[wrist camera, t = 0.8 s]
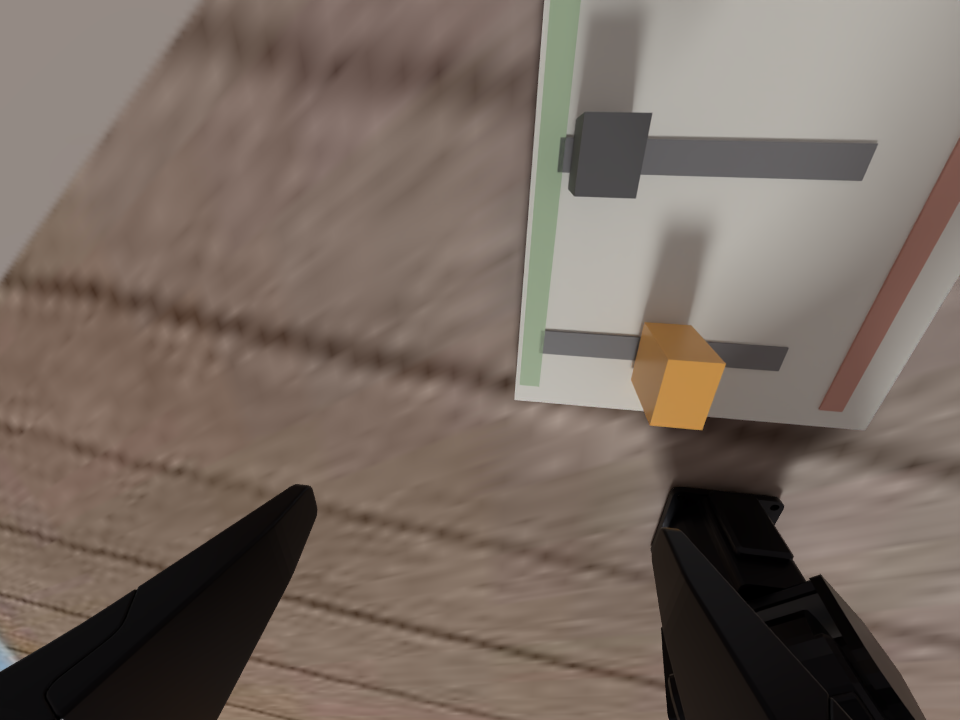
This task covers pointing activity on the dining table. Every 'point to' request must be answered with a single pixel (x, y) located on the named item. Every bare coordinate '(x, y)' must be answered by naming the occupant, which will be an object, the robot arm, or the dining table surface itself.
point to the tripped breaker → (675, 375)
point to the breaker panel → (742, 197)
